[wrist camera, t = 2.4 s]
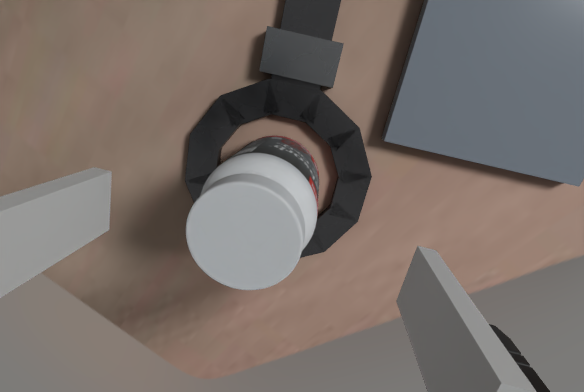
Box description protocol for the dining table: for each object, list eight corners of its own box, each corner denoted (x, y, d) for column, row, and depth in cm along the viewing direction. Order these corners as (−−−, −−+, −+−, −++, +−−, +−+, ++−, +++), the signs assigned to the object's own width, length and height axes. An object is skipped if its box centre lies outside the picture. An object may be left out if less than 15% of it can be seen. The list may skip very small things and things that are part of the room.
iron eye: (181, 234, 24) (176, 240, 23) (222, -112, 17) (216, -124, 16) (340, 271, 24) (340, 279, 23) (443, -63, 17) (450, -72, 16)
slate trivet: (381, 138, 20) (384, 141, 20) (452, -90, 17) (460, -101, 16) (567, 182, 20) (579, 186, 19) (682, -39, 16) (704, -47, 15)
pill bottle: (336, 185, 22) (347, 258, 12) (270, 230, 23) (236, 326, 14) (283, 115, 21) (252, 137, 11) (218, 167, 22) (142, 225, 13)
